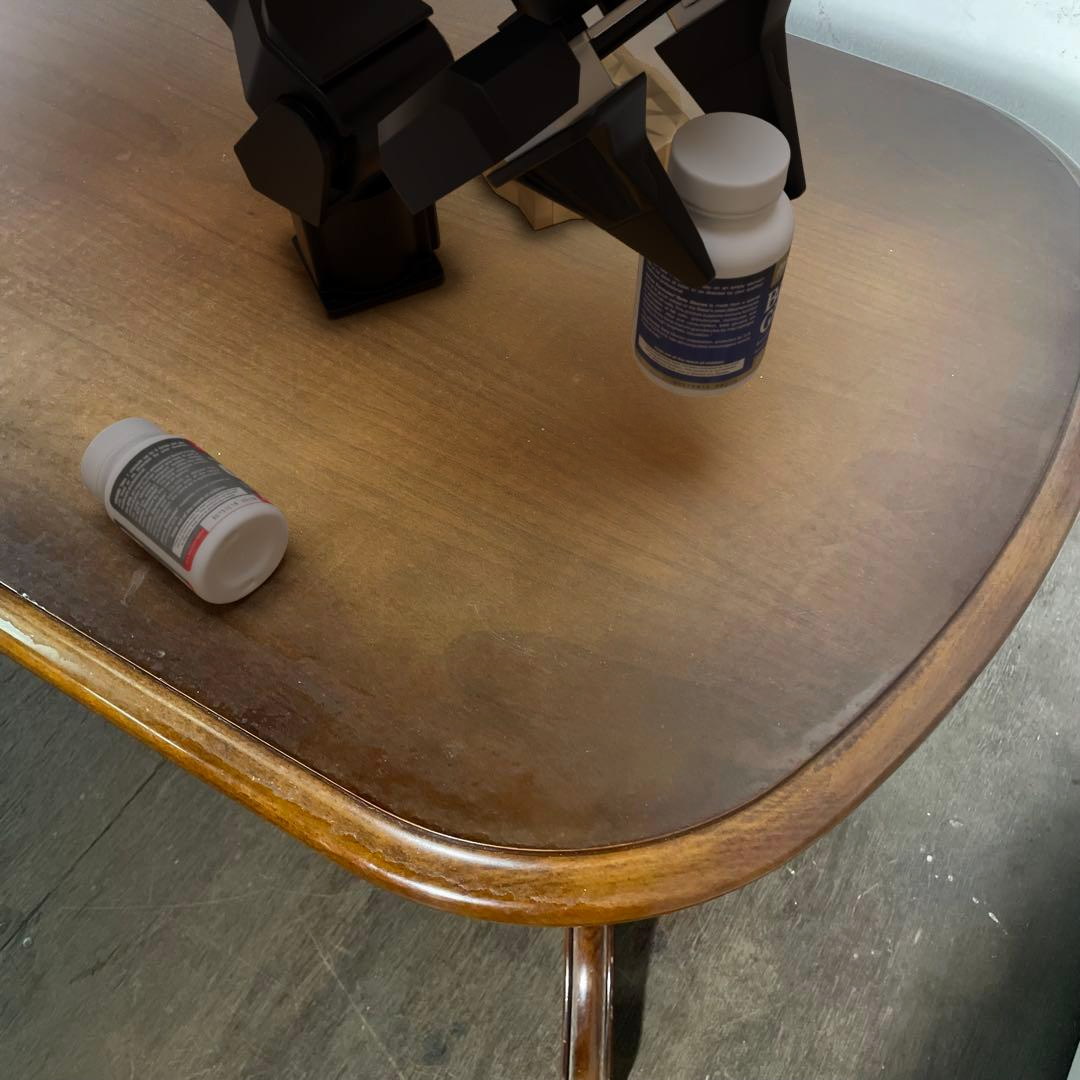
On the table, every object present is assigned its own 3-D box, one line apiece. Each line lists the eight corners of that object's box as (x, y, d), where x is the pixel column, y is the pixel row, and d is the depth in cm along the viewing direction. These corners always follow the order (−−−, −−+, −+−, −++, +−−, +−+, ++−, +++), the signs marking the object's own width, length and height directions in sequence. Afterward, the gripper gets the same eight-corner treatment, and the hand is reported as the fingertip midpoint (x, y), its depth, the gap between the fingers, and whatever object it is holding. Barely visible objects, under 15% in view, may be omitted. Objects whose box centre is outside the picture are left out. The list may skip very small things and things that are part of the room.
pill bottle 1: (294, 491, 43) (165, 391, 46) (196, 543, 40) (65, 432, 43) (291, 573, 46) (170, 474, 49) (201, 626, 43) (78, 517, 46)
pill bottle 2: (775, 397, 42) (830, 194, 34) (640, 407, 42) (662, 205, 33) (748, 300, 45) (793, 92, 37) (622, 309, 44) (638, 101, 36)
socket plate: (528, 242, 57) (526, 196, 54) (449, 126, 62) (444, 79, 60) (713, 182, 59) (720, 135, 57) (620, 75, 65) (622, 29, 62)
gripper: (402, -286, 21) (772, 356, 26) (874, -504, 29) (1085, 26, 34) (235, -28, 30) (533, 408, 36) (625, -245, 38) (822, 139, 44)
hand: (750, 239), depth 37 cm, fingers closed on pill bottle 2, 5 cm apart
